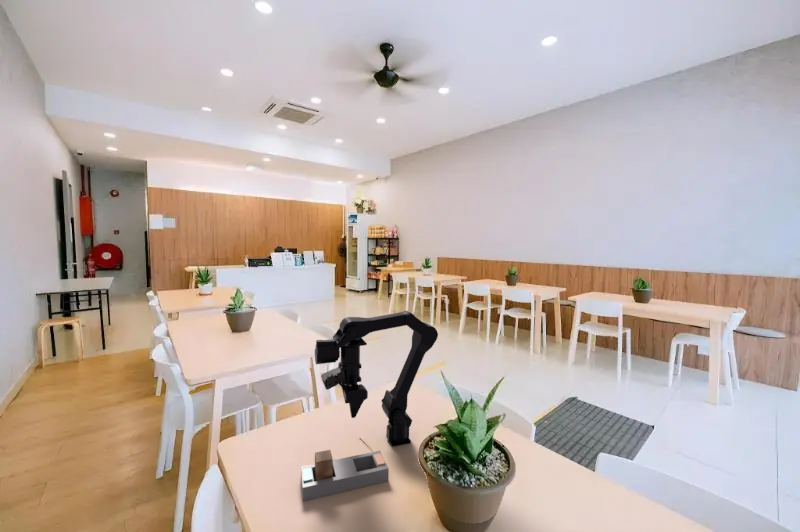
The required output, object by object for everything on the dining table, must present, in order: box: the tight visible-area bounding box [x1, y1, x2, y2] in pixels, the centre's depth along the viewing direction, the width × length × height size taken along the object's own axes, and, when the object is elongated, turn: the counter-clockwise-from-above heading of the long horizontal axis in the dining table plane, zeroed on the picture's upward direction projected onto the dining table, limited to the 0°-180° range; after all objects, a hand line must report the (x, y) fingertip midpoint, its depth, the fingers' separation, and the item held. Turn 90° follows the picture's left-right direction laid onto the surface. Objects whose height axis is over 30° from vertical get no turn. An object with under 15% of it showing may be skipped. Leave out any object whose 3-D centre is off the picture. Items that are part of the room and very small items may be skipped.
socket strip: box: [300, 450, 390, 502], centre depth 88 cm, size 22×8×4 cm, turn 110°
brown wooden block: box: [314, 449, 334, 482], centre depth 86 cm, size 4×4×8 cm
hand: (350, 410), depth 100 cm, fingers open, 9 cm apart
